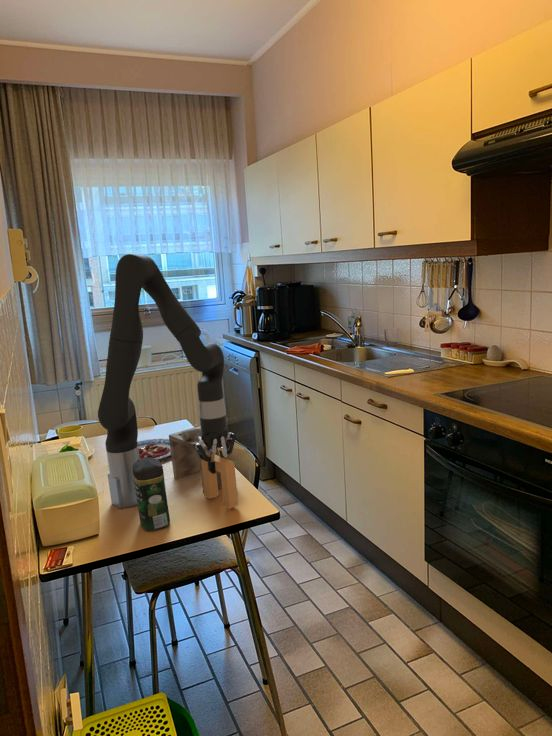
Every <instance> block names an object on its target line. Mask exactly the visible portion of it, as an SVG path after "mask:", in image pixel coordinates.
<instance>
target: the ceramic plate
mask: <svg viewBox="0 0 552 736" xmlns="http://www.w3.org/2000/svg"><path fill="white" fill-rule="evenodd" d="M137 444H138V451H139V459H143V458H147V457H152V458H154V459H157V460H158V461H160V460H161V459H164V458H167V457H170V456H171V449H170V441H169V438H152V439H144V440H143V439H142V440H137ZM144 447H145V448H144ZM141 448H144V449H141Z"/></svg>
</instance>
